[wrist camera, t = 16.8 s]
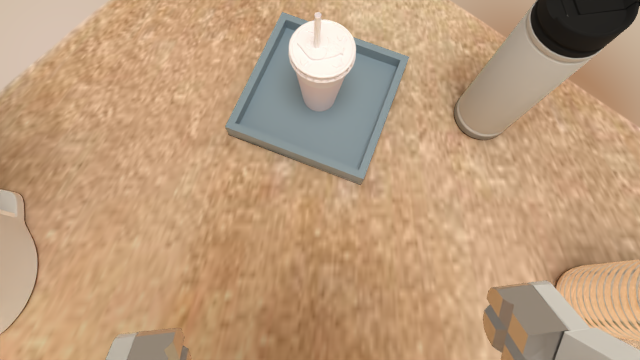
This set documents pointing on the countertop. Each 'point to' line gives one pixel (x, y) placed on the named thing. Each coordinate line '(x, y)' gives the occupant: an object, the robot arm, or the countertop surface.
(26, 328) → the countertop surface
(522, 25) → the travel mug
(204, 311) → the countertop surface
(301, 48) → the smoothie
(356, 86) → the tray
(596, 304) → the water bottle
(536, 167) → the countertop surface
